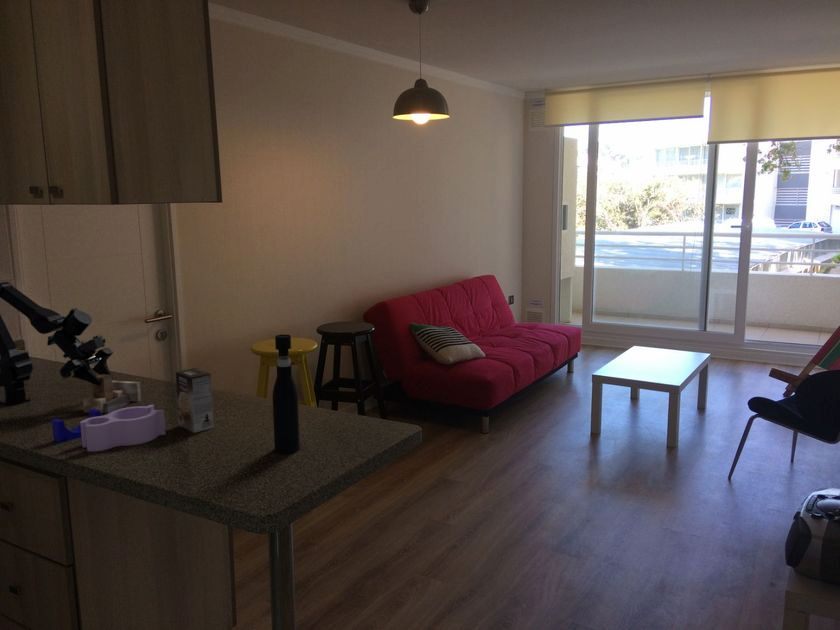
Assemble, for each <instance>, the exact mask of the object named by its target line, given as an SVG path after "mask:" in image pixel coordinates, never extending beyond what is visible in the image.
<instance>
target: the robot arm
mask: <svg viewBox="0 0 840 630" xmlns="http://www.w3.org/2000/svg"><path fill="white" fill-rule="evenodd" d="M0 299H2V300H3V301H5V302H6V303H7V304H9V305H10V306H11V307H13V308H14V309H16V310H17V311H18V312H20V313H21V314H22V315H24V316H25V317H26V318H27V319H28V321H29V323H30V325H31V326H32V327H33V328H34V329H35V331H37V333H39V334H42V335H46V334H50V333H53V334H52V335H49V336H47V344H46V345H47V346H52V345H56V346H57V347H58V348H59V349H60V351H62V352H63V356H62V357H63V358H64V359H68V358H69V360H67V361H66V362H65V363H64V365H63V366H62V367H61V369H59V375H60V377H62V378H63V380H65V379H67V378H71V377H72V378H73V379H79V380H82V381H85V382H87V383H91V384H92V383H93V384H96V385H98V386H99V385H101V382H100V380H99V379H98V378H97V375H99V374H105V375H112V373H111V372H110V369H109V366H108V363H107V362H108V361H107V360H108V359H109V358H110V357H111V356H112V355H113V354H114V352H113V350H112V349H111V348H110V347H105V346H106V345H105V344H106V338H105V337H104V336H102V335H101V334H97V335H95V336H93V337H92V339H89V340H88V341H86V340H83V339H82V340H80V339H79V338H78V337H80V336H82V334H83V333H84V332H85V331H86V330H87V329H88V327H90V325H91V324H92V323H93V319H92V317H91V316H90V314H89V313H87V312H85V311H83V310H79V309H78V308H77V307H76V308H71V309H70V311H68V314H67V315H66V316H62V315H61V314H60V313H59V312H56V311H55V310H52V309H50V308H46V307H42V306H41V305H39V304H38V303H36V302H35V301H34V300H33V299H31V298H29V296H27V295H26V294H24V293H23V292H21V291H20V290H19V289H17V288H16V287H15V286H13V283H11V282H9V281H1V282H0ZM1 315H2V314H0V387H2V389H3V396H4V397H3V398H4V399H2V400H0V404H5V405H8V406H14V405H18V404H21V403H24V402H29V401H32V398H31V397H30V398H29V397H26V396H27V395H26V388H25V387H26V386H25V382H26V381H29V380H30V379H31V374H32V372H33V370H34V367H33V364H34V362H33V361H32V360H31V358H30V355H29V353H28V352H27V351H25V352H22V351H21V350H19V349H18V348H17V346H16V344H15V342H14V340H13V337H12V335H11V334H10V331H9V329H8V327H7V324H6V323H5V321H4V319H3V317H2V316H1ZM100 348H101V349H100ZM90 365H91V366H93V368H91V366H90ZM72 372H73V375H72ZM94 372H95V373H96V374H97V375H96V374H95V373H94ZM112 380H114V378H113V377H112Z"/></svg>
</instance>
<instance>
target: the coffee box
mask: <svg viewBox="0 0 840 630" xmlns="http://www.w3.org/2000/svg"><path fill="white" fill-rule="evenodd" d="M175 382H176V397H177V398H176V399H177V412H178V426H180V427H182V428H183V429H185V430H187V431H190V432H192V433H195V434H196V433H199V432H203V431H206V430H209V429H213V428H214V413H213V411H214V410H213V393H212V373H210V372H208V371H205V370H202V369H199V368H197V367H191V368H188V369H183V370H179V371H175Z"/></svg>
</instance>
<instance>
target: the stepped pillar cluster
mask: <svg viewBox="0 0 840 630" xmlns="http://www.w3.org/2000/svg"><path fill="white" fill-rule="evenodd" d="M112 386H113V397H114V399H112V400H110V401H108V402H106V398H94V397H93V396H92V397H91V396H87V397H85V398H83V399H82V407H83V412H84V413H89V410H91V409H97V410H101V414H104V415H107V414H109V413H111V412H113V411H115V410H118V409H122V408H124V407H125V406H126V405H129V404H131V402H138V403H139V402H140V401H142V392H141V382H140V381H124V380H112Z"/></svg>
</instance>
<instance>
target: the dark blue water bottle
mask: <svg viewBox="0 0 840 630" xmlns="http://www.w3.org/2000/svg"><path fill="white" fill-rule="evenodd" d="M274 341H275V342H274V343H275V350H277V351H278V358H277V361H276V362H277V364H276V378H275V382H274V385H273V389H272V390H273V391H272V413H273V414H272V415H273V417H272V418H273V436H274V437H273V440H274V451H275V452H276V453H277V454H283V455H286V454H293V453H296V452H298V451H299V450H300V447H301V446H300V445H301V443H300V421H299V420H300V419H299V394H298V390H297V385H296V382H295V380H294V377H293V372H292V371H293V369H292V364H291V358H290V357H289V356H290V354H289V353H290V352H289V350H291V349H292V337H291V335H290V334H277V335H275V336H274Z"/></svg>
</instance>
